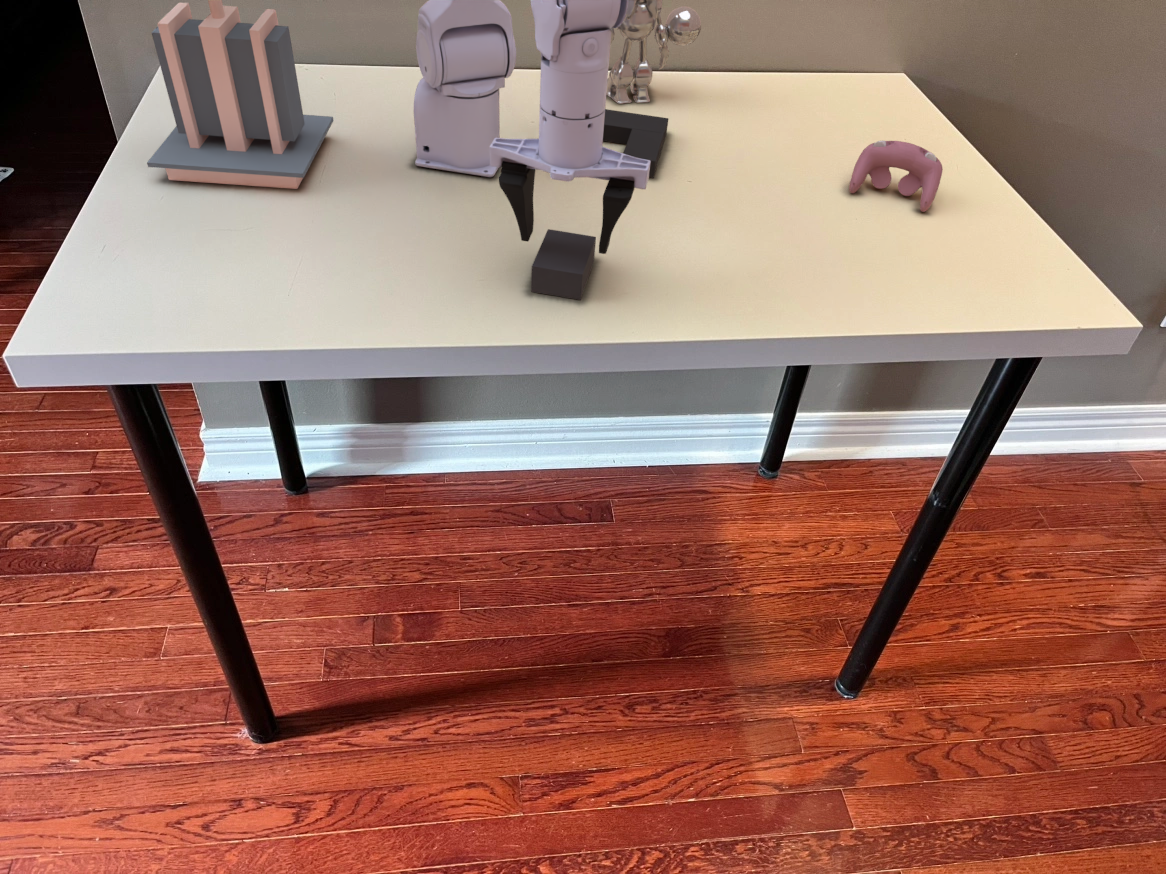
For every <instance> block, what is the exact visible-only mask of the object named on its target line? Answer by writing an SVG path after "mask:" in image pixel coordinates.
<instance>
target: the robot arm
mask: <svg viewBox="0 0 1166 874" xmlns="http://www.w3.org/2000/svg"><path fill="white" fill-rule="evenodd" d="M529 1H530V7H531V12H532V16H533V17H532V18H533V20H534V41H535V47H536V50H537V51H539V53H540V80H539V81H540V84H539V121H538V138H506V137H505V138H503V137H500V134H501V133H500V131H501V130H500V129H501V127H500V123H501V122H500V89H503V88H505V87H506V86H505V85H506V79H508V78H510V77H511V76H512V74H513V71H514V70H515V67H516V64H517V46H516V40H515V36H514V29H513V18H512V14H511V12H510V10H509V8H508V7H507V6H506V4H505V3H504V2H503V1H502V0H427V1H426V2H425V3H424V4H423V5H421V7H420V8H419V9H418V16H417V32H416V33H417V34H416V39H415V48H416V49H415V50H416V51H415V52H416V58H417V63H418V67H419V70H420V74H421V76H422V77H421V78H420V79H419V81H418V83H417V85H416V88H415V91H414V98H413V122H414V136H415V149H416V159H415V161H414V163H415V166H417V167H421V168H429V169H434V170H435V169H436V170H442V171H447V172H454V173H461V174H467V175H473V176H481V177H487V178H493V177H494V176H495V175H496V173H497V171H498V170H499V168H501V170H500V175H499V176H498V184H499V188H500V189H501V190H502V192H503V193H504V195H505V196H506V199H507V200H508V202H509V205H510V207H511V208H512V211H513V213H514V216H515V219H516V222H517V226H518V230H519V235H520V240H521V241H522V242H529V241H530V238H531V236H532V235H533V232H534V225H535V224H534V223H535V215H534V213H535V212H534V191H535V189H534V188H535V178H536V170H537V171H541V172H545V173H548V174H549V178H550V179H551V180H554V181H562V182H572V181H573V180H574V179H575V178H589V179H590V178H591V179H595V180H603V181H608V182H607V184H606V186H605V189H604V192H603V195H602V221H601V222H602V223H601V230H600V231H601V232H600V236H599V237H600V238H599V244H598V253H599V254H603V255H606V254H607V252H608V249H609V246H610V241H611V237H612V233H613V232H614V229H615V227H616V225H617V223H618V221H619V219H620V217H621V216H622V214H623V213H624V212H625V210H626V209H627V207H628V205H629V204H630V202H631V201H632V197H633V194H634V191H635V189H639V190H646V189H647V185H648V182H649V180H650V178H649V171H650V163H651V161H650V160H645V159H640V158H636V157H633V156H629V155H626V154H623V153H624V152H620V151H617V150H614V149H611V148H608V147H605V146H603V144H604V143H603V142H604V141H603V131H604V118H605V109H606V105H607V94H606V93H607V80H608V77H609V67H610V66H609V65H610V56H611V55H610V53H611V45H610V43H611V31H610V30H609V29H611V28H614V29H617V27H619V26H620V25H621V24H622V22H623V21H624V19H625V16H626V12H627V8H628V0H529ZM611 44H612V43H611Z"/></svg>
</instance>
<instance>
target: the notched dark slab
mask: <svg viewBox="0 0 1166 874" xmlns="http://www.w3.org/2000/svg"><path fill="white" fill-rule="evenodd" d="M668 126H669V118H668V117H663V116H662V117H661V116H655V115H649V114H648V115H647V114H641V113H636V112H635V113H634V112H628V111H621V110H614V109H608V108H607V109H606V108H605V118H604V131H603V142H607V143H613V144H619V145H620V144H621V145H625V148H624V150H623V152H622V153H623V154H626V155H629V156H633V157H636V158H640V159H645V160H650V161H651V163H650V171H649V179H654V178H655V176H656V175H655V174H656V171H657V168H658V164H659V161H660V158H661V154H662V152H663V151H662V150H663V148H664V144H665V141H666V137H667V132H668Z"/></svg>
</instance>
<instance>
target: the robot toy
mask: <svg viewBox="0 0 1166 874" xmlns="http://www.w3.org/2000/svg"><path fill="white" fill-rule="evenodd" d="M662 7H663V0H628V8H627V12H626V16H625V19H624V21H623V22H622V24H621V25H620V26H619V27H617V28H616V30H618V31H619V33H620V34H621V36H622V37H623V38H624V42H623V43H624V44H623V47H622V53H621V56H620V57H618V59H617V60H616V61H615V62H614V64H613V65H612V67H611V70H610V71H609V72H608V80H607V93H606V96H608V97H610V99H611V100H613V101H614V102H616V103H617V104H619V105H622V104H630V103H632V102H633V101H632V99H630V97H629V95H628V93H627V88H628V87H629V88H630V91H631V94H632V95H633V96H632V98H633V100H634V103H636V104H637V103H639V104H641V103H650V101H651V99H650V96H649V92H648V87H649V86H650V84H651V83H652V82H653V81H652V80H653V68H652V66H651V65H650V62H649V59H648V58H647V45H648V43H647V42H648V40H647V39H648V38H649V36H650V35H651V33H652V32H653V30H654V34H653V35H654V36H653V37H654V40H655V42H656V43H657V46H659V47H658V51H659V52H660V58H659V62H658V70H663V69H664V68H665V67H666V64H667V62H668V59H669V56H670V54H669V53H670V50H669V48H668V42H669V41H670V42H671V43H673V45H676V46H679V47H680V46H681V47H684V46H688V45H690V44H692V43H694V42H695V41H696V40H697V39H698V37H699V36H700V33H701V30H702V21H701V17H700V15H699V13H698V12H697V11H696V10H695V9H693V8H692V7H690V6H686V5H684V6H678V7H676V8H674V9H673V10H671V11H670V13H669V14H668V16H667V18H666V20H665V24H663V23H662V17H661V13H662ZM609 30H610V31H611V43H610V46H612V43H613V41H614V39H615V35H616V34H615V33H616V32H615V28H611V29H609ZM633 43H638V59H637V60H636V62H635V63H634V66H633V68H632V66H631V65H630V63H629V59H630V56H631V55H630V54H631V50H632V45H633Z"/></svg>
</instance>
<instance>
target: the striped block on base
mask: <svg viewBox="0 0 1166 874" xmlns="http://www.w3.org/2000/svg"><path fill="white" fill-rule="evenodd" d="M207 3H208V7H209V14H208V15H207V16H206V17H205V19H195V18H193V15H192V11H191V6H190V3H189V2H179V1H178V3H177V4H176V5H175V6H173V8H171V10H170V11H169V12H167V13H166V14H165V15H164V16H163V17H162V18H161V19H160V20H159V21H158V22H157V27H155V28H154V29H153V30H152V31H151V37H152V41H153V44H154V47H155V51H156V55H157V58H158V63H159V66H160V70H161V72H162V73H161V74H162V76H163V81H164V84H165V89H166V92H167V96H168V100H169V104H170V107H171V110H172V114H173V118H174V122H175V126H174V129H172V131H171V132H170V134H169V135H168V136H167V137H166V138H165V139H164V141H163V142H162V143H161V144H160V146H159V147H158V148H157V149H156V151H155V152H154V153H153V154H152V156H151V157H150V158H149V160H148V161H147V162H146V164H147V168H158V169H165V171H166V175H167V178H168V181H178V182H192V183H193V182H194V183H208V184H223V185H237V186H249V187H251V186H252V187H264V188H278V189H279V188H280V189H294V190H297V189H298V188H299V187H300V185H301V182H302V181H303V179H304V178H305V176H306V174H307V173H308V170H309V169H310V167H311V165H312V163H313V161H314V159H315V157H316V155H317V153H318V151H319V150H320V147H321V146H322V144H323V142H324V140H325V138H326V136H327V134H328V132H329V130H330V128H331V127H332V125H333V123H334V122H335V121H334V116H330V115H329V116H328V115H317V114H316V115H315V114H304V112H303V106H302V105H303V104H302V100H301V95H300V93H301V92H300V88H299V82H298V75H297V70H296V65H295V64H296V62H295V58H294V57H295V56H294V52H293V45H292V38H291V34H290V33H291V32H290V26H288V25H279V21H278V16H277V9H273V8H265V10H264V11H263V12H262V14H260V16H259V18H258V19H257V20H255V22H254V23H248V22H241V16H240V12H239V6H232V5H224V4H223V0H207Z"/></svg>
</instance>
